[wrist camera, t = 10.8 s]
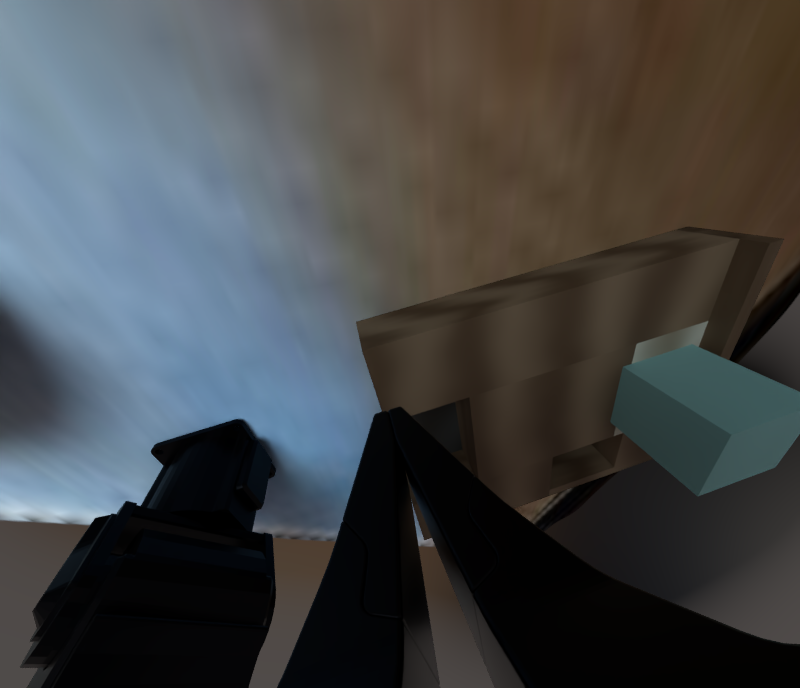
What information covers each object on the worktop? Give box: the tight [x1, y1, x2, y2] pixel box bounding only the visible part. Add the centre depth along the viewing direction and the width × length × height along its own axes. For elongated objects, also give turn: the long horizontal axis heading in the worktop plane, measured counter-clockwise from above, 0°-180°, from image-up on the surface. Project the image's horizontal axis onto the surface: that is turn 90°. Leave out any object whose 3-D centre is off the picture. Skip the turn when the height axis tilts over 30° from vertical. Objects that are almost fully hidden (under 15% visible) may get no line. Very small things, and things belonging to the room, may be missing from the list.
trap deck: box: [356, 227, 784, 540], centre depth 25 cm, size 26×22×6 cm
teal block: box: [610, 344, 800, 496], centre depth 21 cm, size 6×6×7 cm
